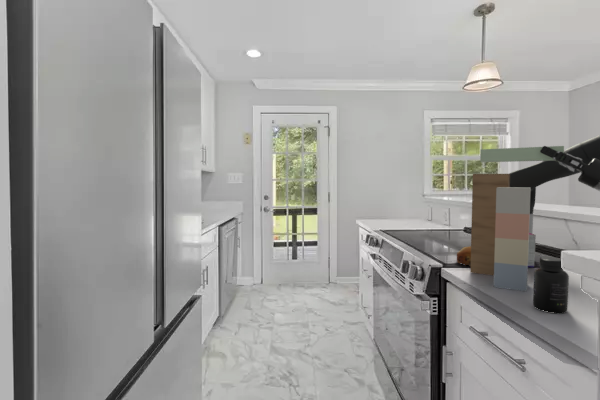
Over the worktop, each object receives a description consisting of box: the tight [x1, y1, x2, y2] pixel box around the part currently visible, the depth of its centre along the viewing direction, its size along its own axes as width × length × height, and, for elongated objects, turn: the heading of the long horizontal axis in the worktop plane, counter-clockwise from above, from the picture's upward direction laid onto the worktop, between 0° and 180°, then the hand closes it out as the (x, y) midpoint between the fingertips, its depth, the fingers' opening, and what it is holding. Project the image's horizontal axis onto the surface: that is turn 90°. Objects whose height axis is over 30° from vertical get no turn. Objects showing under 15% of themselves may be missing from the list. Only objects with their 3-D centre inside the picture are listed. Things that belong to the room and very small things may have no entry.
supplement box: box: [528, 233, 537, 269], centre depth 133 cm, size 6×6×12 cm
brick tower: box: [493, 187, 531, 292], centre depth 108 cm, size 8×8×28 cm
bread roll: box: [456, 245, 471, 267], centre depth 137 cm, size 10×10×8 cm
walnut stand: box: [469, 173, 510, 276], centre depth 123 cm, size 8×10×32 cm
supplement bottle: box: [532, 256, 570, 314], centre depth 89 cm, size 7×7×12 cm
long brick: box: [479, 145, 565, 163], centre depth 118 cm, size 4×22×4 cm, turn 58°
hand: (542, 149), depth 115 cm, fingers closed on long brick, 4 cm apart
